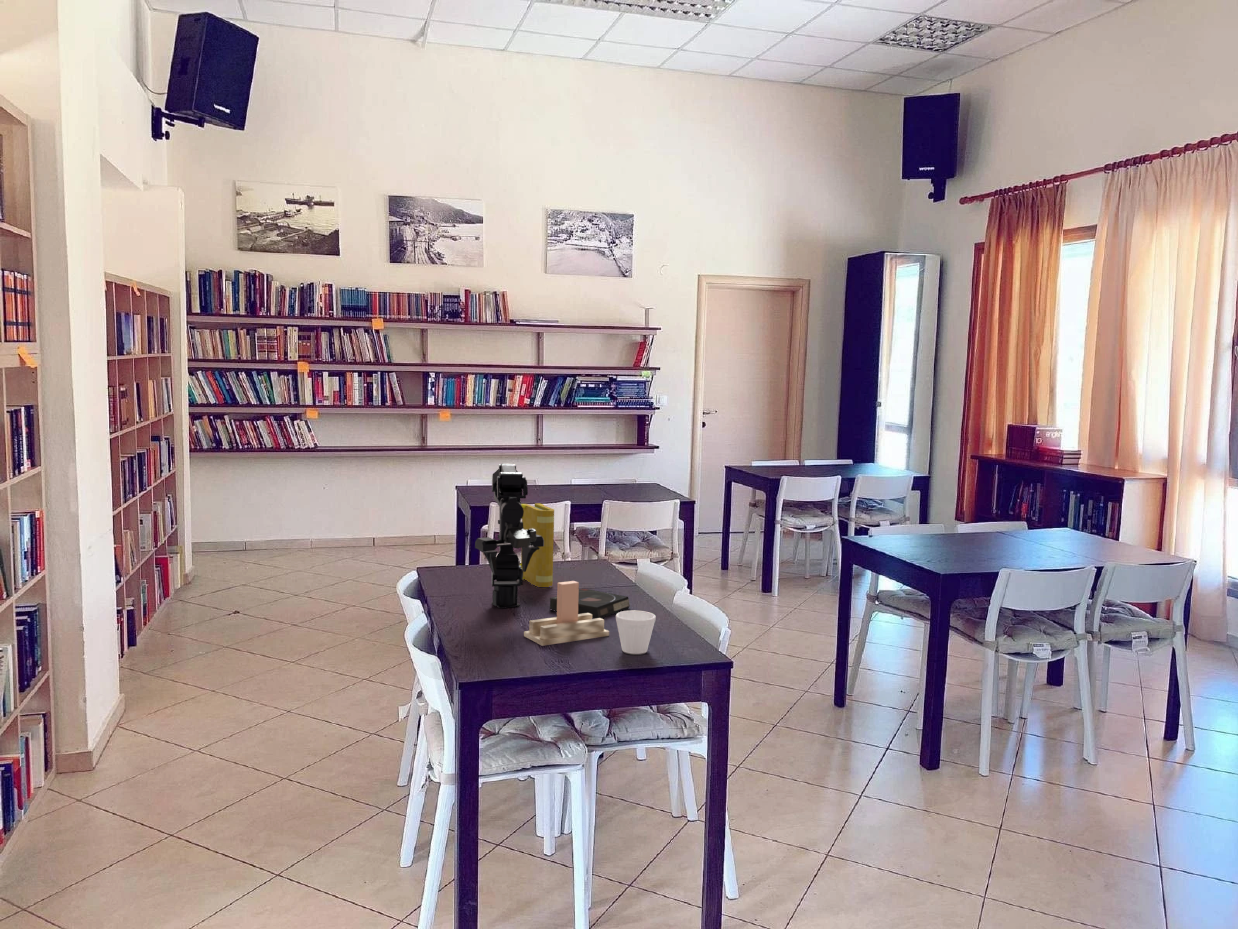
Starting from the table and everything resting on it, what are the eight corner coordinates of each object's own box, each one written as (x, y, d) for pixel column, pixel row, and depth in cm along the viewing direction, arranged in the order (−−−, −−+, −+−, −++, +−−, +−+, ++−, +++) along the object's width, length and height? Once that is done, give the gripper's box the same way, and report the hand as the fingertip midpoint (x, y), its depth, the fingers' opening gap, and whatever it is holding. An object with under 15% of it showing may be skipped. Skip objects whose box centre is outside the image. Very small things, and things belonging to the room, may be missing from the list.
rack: (589, 626, 253) (589, 611, 253) (609, 635, 245) (609, 620, 245) (523, 636, 242) (524, 620, 242) (542, 645, 234) (542, 629, 234)
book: (519, 577, 312) (520, 503, 309) (538, 576, 315) (540, 503, 312) (536, 588, 296) (538, 511, 294) (556, 587, 299) (558, 510, 297)
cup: (613, 645, 236) (614, 610, 235) (652, 646, 237) (653, 610, 236) (616, 657, 226) (617, 620, 225) (656, 658, 227) (658, 620, 226)
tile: (556, 631, 243) (557, 582, 242) (572, 629, 246) (573, 580, 245) (561, 633, 241) (562, 584, 240) (577, 631, 244) (578, 582, 243)
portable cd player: (598, 621, 261) (598, 607, 260) (549, 611, 270) (550, 598, 270) (629, 610, 275) (630, 597, 274) (582, 601, 284) (582, 588, 283)
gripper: (492, 523, 244) (491, 582, 246) (554, 519, 255) (553, 575, 256) (474, 517, 254) (473, 574, 255) (535, 514, 264) (534, 568, 265)
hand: (509, 573), depth 258 cm, fingers open, 9 cm apart
